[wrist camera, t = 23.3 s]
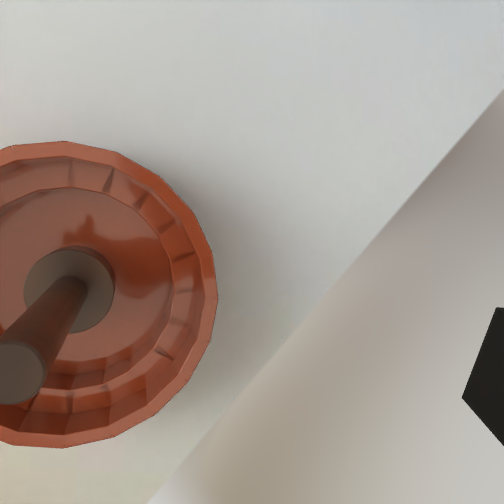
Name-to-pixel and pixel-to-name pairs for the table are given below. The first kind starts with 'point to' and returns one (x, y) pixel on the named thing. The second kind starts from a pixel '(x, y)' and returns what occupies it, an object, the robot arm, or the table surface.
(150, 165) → the table surface
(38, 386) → the brown joystick
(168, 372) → the bowl
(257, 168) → the table surface
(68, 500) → the table surface
